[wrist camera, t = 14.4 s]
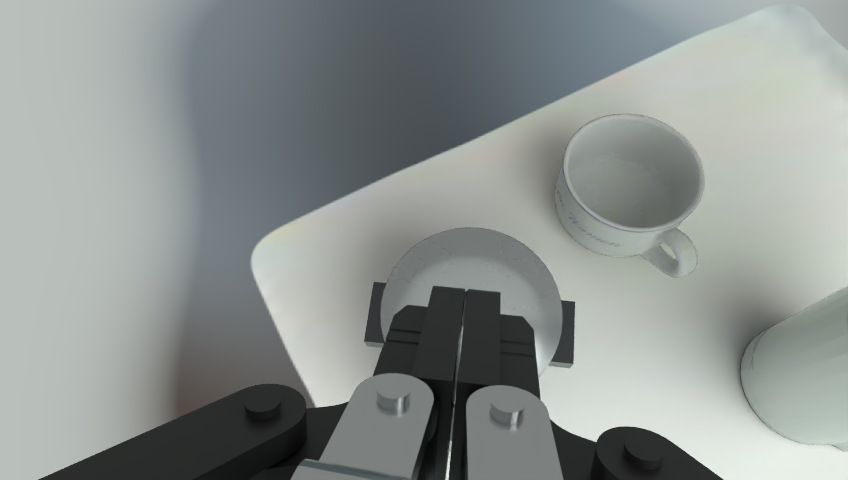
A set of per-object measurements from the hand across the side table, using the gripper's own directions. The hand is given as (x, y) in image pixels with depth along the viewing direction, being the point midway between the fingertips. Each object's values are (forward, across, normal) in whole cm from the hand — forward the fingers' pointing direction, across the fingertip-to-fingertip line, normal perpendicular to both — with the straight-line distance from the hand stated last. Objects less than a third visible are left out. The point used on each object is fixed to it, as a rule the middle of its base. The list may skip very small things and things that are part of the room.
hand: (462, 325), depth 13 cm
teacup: (+40, -12, +12) cm, 43 cm away
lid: (+24, 0, +13) cm, 28 cm away
